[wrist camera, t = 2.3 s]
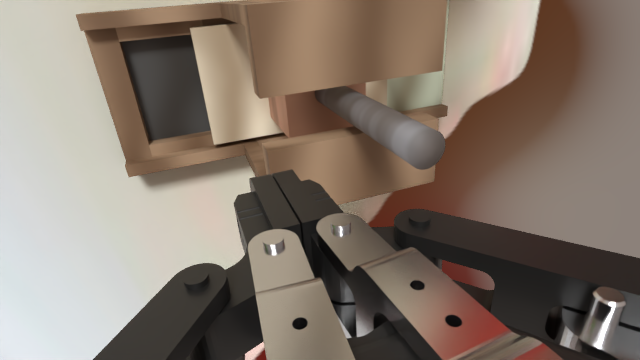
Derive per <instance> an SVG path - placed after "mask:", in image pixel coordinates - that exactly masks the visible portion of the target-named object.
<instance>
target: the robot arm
mask: <svg viewBox="0 0 640 360" xmlns="http://www.w3.org/2000/svg"><path fill="white" fill-rule="evenodd" d="M250 188H251V192H250V193H245V194H241V195H238V196H237V198H236V200H235V202H234V207H235V212H236V217H237V222H238V227H239V233H240V238H241V242H242V245H243V249H244V252H245V256H244V257H243V258H242V259H241V260H240V261H239V262H238V263H236V264H235V265H234V266H232V267H230V268H228V269H226V270H224V269H223V268H222V267H221V266H219V265H217V264H212V263H203V264H197V265H193V266H190V267H188V268H186V269H184V270H182V271H180V272H179V273H177V274H176V275H175V276H174V277H173V278H172V279H171V280H170V281H169V282H168V283H167V284H166V285H165V286H164V287H163V288H162V289H161V290H160V291H159V292H158V293H157V294H156V295H155V296H154V297H153V298H152V299H151V300H150V301H149V302H148V304H147V305H146V306H145V307H144V308H143V309H142V310H141V311H140V312H139V313H138V314H137V315H136V316H135V317H134V318H133V319H132V320H131V321H130V322H129V323H128V324H127V325H126V326H125V327H124V328H123V329H122V330H121V331H120V332H119V333H118V334H117V335H116V336H115V337H114V338H113V340H112V341H111V342H110V343H109V344H108V345H107V346H106V347H105V348H104V349H103V350H102V351H101V352H100V353H99V354H98V355H97V356H96V357H95V358H94V359H93V360H245V353H247V352H248V351H250V350H251V349H253V348H254V347H256V346H257V345H259V344H260V343H262V342H263V341H264V346H265V352H266V358H267V360H640V258H636V257H632V256H627V255H623V254H618V253H614V252H610V251H605V250H601V249H596V248H592V247H587V246H583V245H579V244H574V243H570V242H565V241H561V240H557V239H552V238H548V237H543V236H539V235H535V234H531V233H526V232H522V231H517V230H513V229H508V228H504V227H499V226H495V225H491V224H486V223H482V222H478V221H473V220H469V219H465V218H460V217H455V216H451V215H447V214H442V213H438V212H433V211H429V210H424V209H410V210H406V211H403V212H400V213H399V214H398V215H397V216H396V217H395V219H394V227H370V226H369V225H368V224H367V223H366V222H365V221H364V220H362V219H361V218H360V217H358V216H356V215H353V214H347V213H343V211H342V210H341V209H340V208H339V206H338V205H337V204H336V203H335V202H334V200H333V199H332V198H330V196H329V194H328V193H327V192H326V191H325V190H324V188H323V187H322V186H321V185H320V184H319V183H317V182H314V181H312V180H310V179H309V180H304V181H301V180H300V179H299V178H298V176H297V175H296V174H295V172H294V171H293V170H292V169H291V170H286V171H282V172H277V173H272V174H268V175H263V176H258V177H253V178H250ZM442 260H446V261H449V262H452V263H456V264H460V265H463V266H466V267H470V268H473V269H477V270H480V271H483V272H485V273H487V274H488V275H490V276H491V277H492V279H493V280H494V283H495V288H494V290H484V289H481V288H478V287H474V286H472V285H468V284H465V283H462V282H459V281H455V280H452V279H450V278H449V277H448V276H447V275H446V274H445V273H443V272H442V271H441V269H442Z"/></svg>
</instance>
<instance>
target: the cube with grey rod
mask: <svg viewBox="0 0 640 360" xmlns="http://www.w3.org/2000/svg"><path fill="white" fill-rule="evenodd" d="M190 32H191V37H192V42H193V47H194V52H195V56H196V61H197V66H198V71H199V76H200V81H201V85H202V90H203V95H204V100H205V105H206V110H207V115H208V119H209V124H210V129H211V134H212V139H213V143H214V145H216V144H222V143H227V142H233V141H238V140H244V139H249V138H255V137H260V136H266V135H271V134H277V133H283V132H284V133H285V134H286V136H287V137H288V138H293V137H298V136H303V135H309V134H314V133H319V132H325V131H330V130H336V129H341V128H346V127H352V126H355V127H356V128H358V129H359V130H361V131H362V132H364V133H365V134H367V135H368V136H369V137H371V138H372V139H374V140H375V141H377V142H378V143H380V144H381V145H383V146H384V147H385V148H387V149H388V150H390V151H391V152H393V153H394V154H396V155H397V156H399V157H400V158H402V159H403V160H404V161H406V162H407V163H409V164H410V165H412V166H413V167H415V168H417V169H420V170H424V169H428V168H431V167H432V166H434V165H435V164H436V163H437V162H438V161H439V160H440V159H441V157H442V155H443V153H444V150H445V139H444V137H443V135H442V134H441V133H440V132H438V131H437V130H435V129H433V128H430V127H428V126H426V125H424V124H422V123H420V122H418V121H416V120H414V119H412V118H410V117H408V116H406V115H404V114H402V113H400V112H398V111H396V110H394V109H392V108H390V107H388V106H387V79H386V80H379V81H373V82H366V83H360V84H353V85H347V86H340V87H334V88H328V89H321V90H315V91H308V92H302V93H295V94H289V95H282V96H276V97H269V98H263V99H260V98H259V97H258V96H257V95H256V94H255V93H254V86H253V79H252V72H251V65H250V58H249V52H248V45H247V38H246V31H245V26H244V25H241V24H238V23H232V24H222V25H212V26H201V27H191V28H190Z"/></svg>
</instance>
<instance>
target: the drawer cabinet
mask: <svg viewBox="0 0 640 360" xmlns="http://www.w3.org/2000/svg"><path fill="white" fill-rule="evenodd" d="M448 13H449V0H242V1H230V2H217V3H205V4H193V5H181V6H169V7H156V8H144V9H132V10H120V11H108V12H95V13H83V14H77V15H76V17H77V20H78V23H79V26H80V29H81V31H84V32H85V35H86V38H87V41H88V44H89V47H90V51H91V54H92V57H93V60H94V63H95V66H96V69H97V72H98V75H99V78H100V82H101V85H102V88H103V91H104V94H105V97H106V100H107V103H108V106H109V109H110V113H111V116H112V119H113V122H114V125H115V128H116V131H117V134H118V137H119V140H120V144H121V147H122V150H123V153H124V156H125V159H126V164H125V167H126V170H127V173H128V176H129V177H132V176H138V175H143V174H148V173H153V172H158V171H164V170H169V169H174V168H179V167H184V166H190V165H195V164H200V163H205V162H210V161H216V160H221V159H226V158H231V157H236V156H242V155H246V157H247V159H248V162H249V164H250V166H251V168H252V170H253V172H254V174H255V176H256V177H258V176H263V175H268V174H272V173H277V172H282V171H286V170H291V169H292V170H293V171H294V172H295V174H296V175H297V176H298V178H299V179H300V180H301V181H304V180H309V179H310V180H312V181H314V182H317V183H319V184H320V185H321V186H322V187H323V188H324V190H325V191H326V192H327V193H328V194H329V196H330V198H332V199H333V200H334V202H335V203H336V204H337V205H340V204H344V203H348V202H352V201H356V200H360V199H364V198H368V197H372V196H376V195H381V194H385V193H389V192H393V191H397V190H401V189H405V188H409V187H413V186H417V185H421V184H426V183H430V182H433V181H434V177H435V165H434V166H432V167H431V168H428V169H424V170H420V169H417V168H415V167H413V166H412V165H410V164H409V163H407V162H406V161H404V160H403V159H402V158H400V157H399V156H397V155H396V154H394V153H393V152H391V151H390V150H388V149H387V148H385V147H384V146H383V145H381V144H380V143H378V142H377V141H375V140H374V139H372V138H371V137H369V136H368V135H367V134H365V133H364V132H362V131H361V130H359V129H358V128H356V127H355V126H352V127H346V128H341V129H336V130H330V131H325V132H319V133H314V134H309V135H303V136H298V137H293V138H288V137H287V136H286V134H285V133H284V132H283V133H277V134H271V135H266V136H260V137H255V138H249V139H244V140H238V141H233V142H227V143H222V144H216V145H214V143H213V139H212V134H211V129H210V124H209V119H208V115H207V110H206V105H205V100H204V95H203V90H202V85H201V81H200V76H199V71H198V66H197V61H196V56H195V52H194V47H193V42H192V37H191V32H190V28H191V27H201V26H212V25H222V24H232V23H238V24H241V25H244V26H245V31H246V38H247V45H248V52H249V58H250V65H251V72H252V79H253V86H254V93H255V94H256V95H257V96H258V97H259V98H260V99H263V98H269V97H276V96H282V95H289V94H295V93H302V92H308V91H315V90H321V89H328V88H334V87H340V86H347V85H353V84H360V83H366V82H373V81H379V80H386V79H387V106H388V107H390V108H392V109H394V110H396V111H398V112H400V113H402V114H404V115H406V116H408V117H410V118H412V119H414V120H416V121H418V122H420V123H422V124H424V125H426V126H428V127H430V128H433V129H435V130H437V131H438V122H439V119H438V118H439V117H444V116H447V109H448V106H445V105H443V104H442V93H443V80H444V67H445V53H446V40H447V26H448Z"/></svg>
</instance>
